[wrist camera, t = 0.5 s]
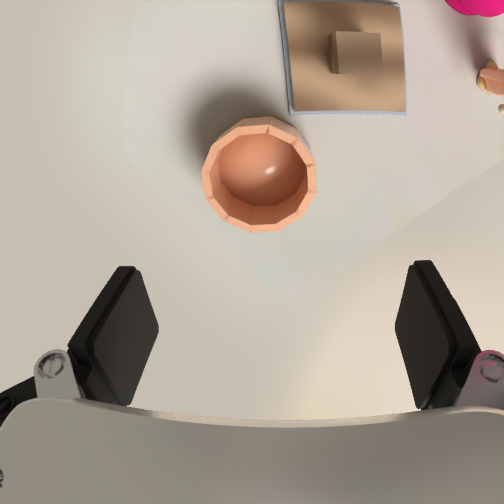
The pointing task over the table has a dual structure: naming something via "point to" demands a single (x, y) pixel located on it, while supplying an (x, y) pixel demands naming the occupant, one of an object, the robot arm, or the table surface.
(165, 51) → the table surface
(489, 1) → the pepper mill
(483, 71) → the grandmother figurine
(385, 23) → the lid
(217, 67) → the table surface
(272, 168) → the bowl
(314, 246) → the table surface
